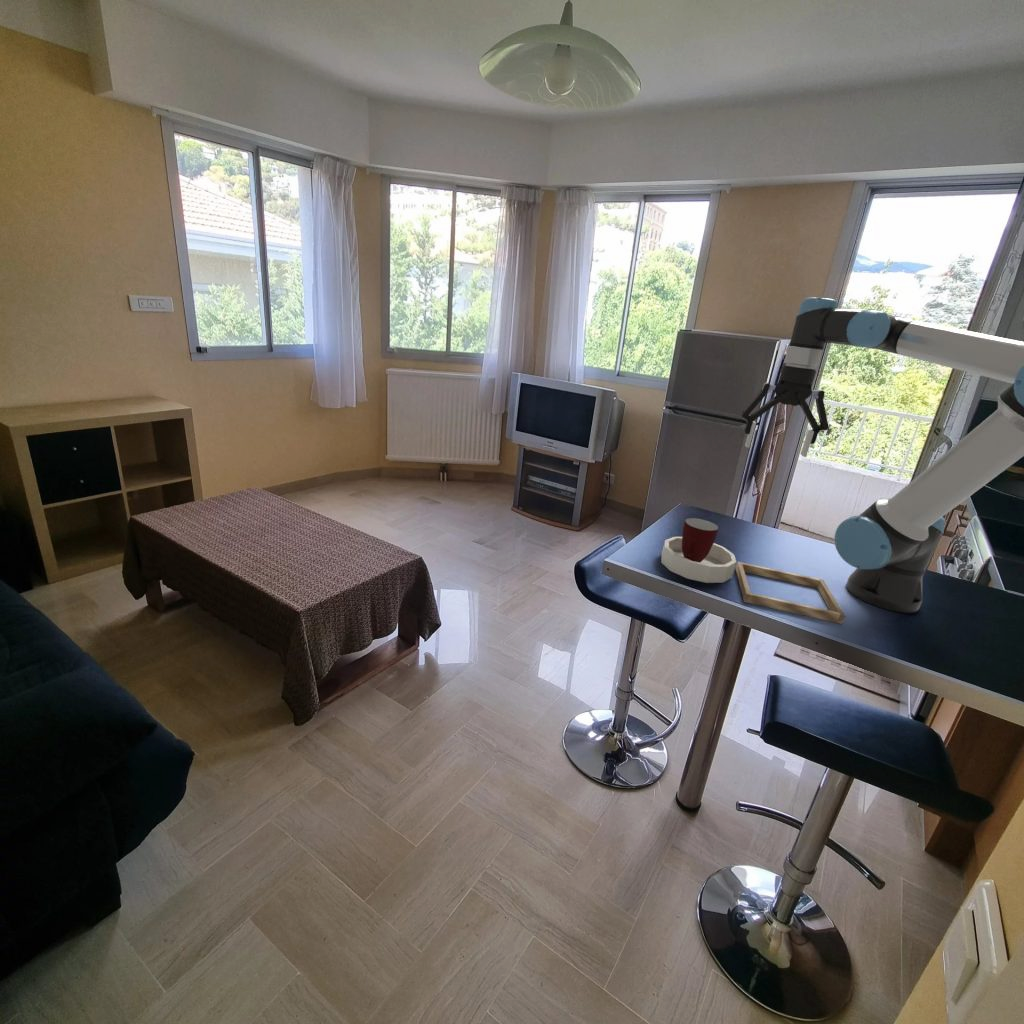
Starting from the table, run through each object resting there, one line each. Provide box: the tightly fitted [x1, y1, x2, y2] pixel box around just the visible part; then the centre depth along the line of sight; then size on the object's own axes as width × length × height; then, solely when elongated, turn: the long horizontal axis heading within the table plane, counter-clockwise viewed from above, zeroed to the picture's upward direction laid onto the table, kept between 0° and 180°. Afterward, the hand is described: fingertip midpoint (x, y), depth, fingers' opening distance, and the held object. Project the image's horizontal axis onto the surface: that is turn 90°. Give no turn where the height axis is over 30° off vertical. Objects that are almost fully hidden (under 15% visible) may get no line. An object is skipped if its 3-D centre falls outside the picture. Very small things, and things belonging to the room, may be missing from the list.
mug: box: [681, 517, 719, 562], centre depth 129 cm, size 11×8×10 cm
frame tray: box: [734, 561, 846, 625], centre depth 121 cm, size 20×18×2 cm
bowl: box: [660, 536, 737, 584], centre depth 130 cm, size 17×17×4 cm
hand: (774, 451), depth 134 cm, fingers open, 13 cm apart
